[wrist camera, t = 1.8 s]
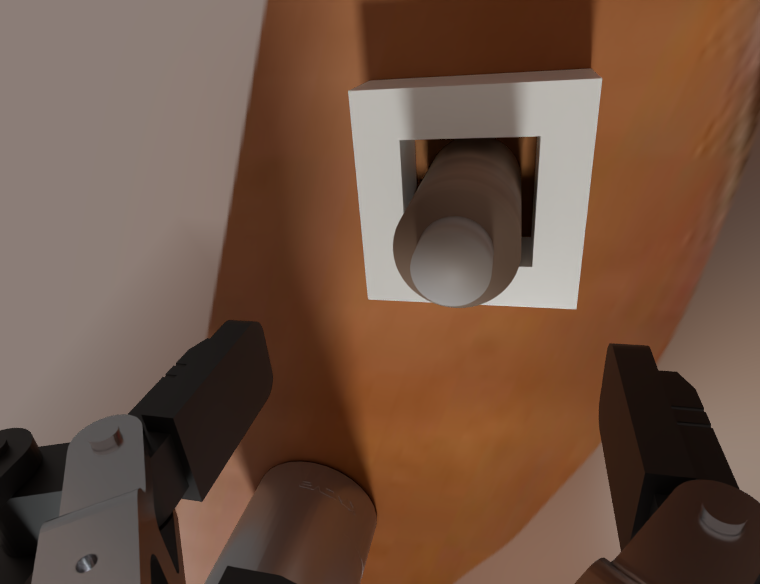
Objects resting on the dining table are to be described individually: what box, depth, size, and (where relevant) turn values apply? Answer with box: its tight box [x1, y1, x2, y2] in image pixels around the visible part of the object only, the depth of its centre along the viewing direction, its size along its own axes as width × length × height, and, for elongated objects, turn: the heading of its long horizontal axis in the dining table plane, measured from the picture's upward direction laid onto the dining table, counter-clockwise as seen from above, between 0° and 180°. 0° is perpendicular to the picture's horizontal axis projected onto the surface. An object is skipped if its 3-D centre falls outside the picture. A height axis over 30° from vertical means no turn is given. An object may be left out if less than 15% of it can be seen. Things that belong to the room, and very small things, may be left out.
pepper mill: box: [393, 138, 521, 308], centre depth 21 cm, size 4×4×10 cm
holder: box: [348, 68, 602, 309], centre depth 24 cm, size 10×10×4 cm
